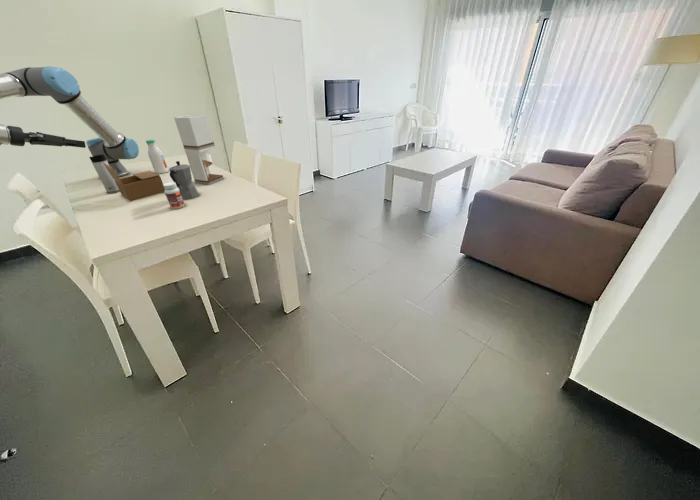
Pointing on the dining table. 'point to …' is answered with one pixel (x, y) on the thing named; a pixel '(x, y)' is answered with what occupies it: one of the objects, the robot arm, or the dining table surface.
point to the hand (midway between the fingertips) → (84, 144)
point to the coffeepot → (183, 180)
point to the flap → (112, 173)
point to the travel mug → (104, 173)
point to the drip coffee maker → (197, 146)
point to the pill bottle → (173, 195)
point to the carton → (140, 185)
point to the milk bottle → (156, 157)
